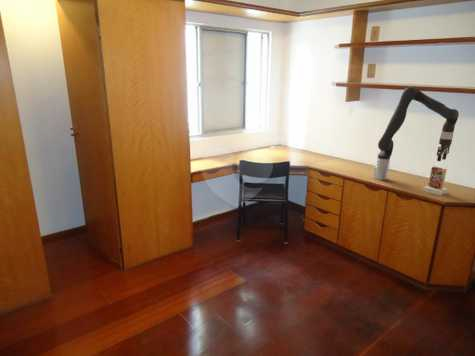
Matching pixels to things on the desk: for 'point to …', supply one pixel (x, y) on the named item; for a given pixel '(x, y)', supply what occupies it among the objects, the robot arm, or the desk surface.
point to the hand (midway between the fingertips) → (441, 160)
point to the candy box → (437, 177)
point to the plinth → (434, 190)
